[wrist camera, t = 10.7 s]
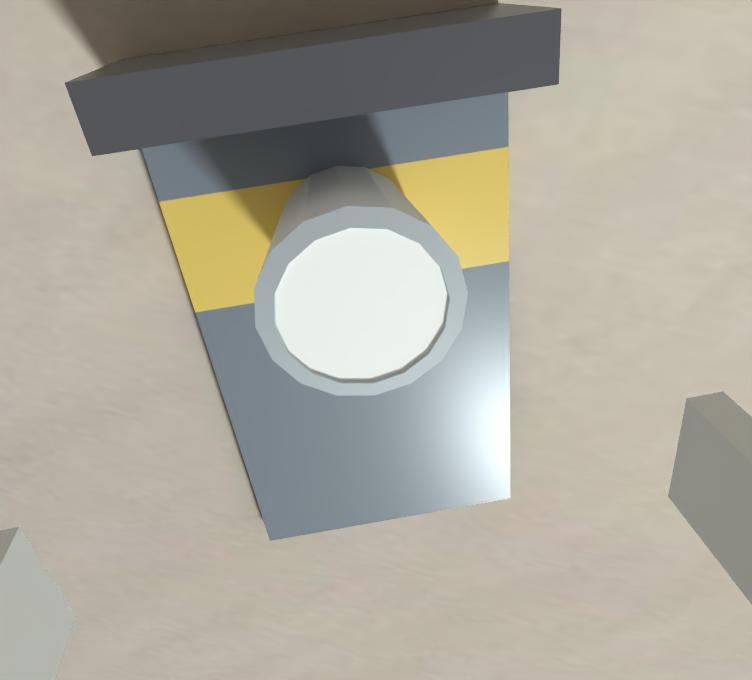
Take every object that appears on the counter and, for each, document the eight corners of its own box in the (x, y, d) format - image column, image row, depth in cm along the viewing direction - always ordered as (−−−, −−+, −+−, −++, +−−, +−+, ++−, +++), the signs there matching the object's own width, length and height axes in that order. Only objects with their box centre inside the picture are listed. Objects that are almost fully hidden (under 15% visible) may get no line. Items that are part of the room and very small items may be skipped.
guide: (270, 526, 34) (266, 621, 29) (120, 59, 21) (64, 82, 16) (505, 485, 35) (540, 571, 30) (499, 3, 22) (561, 8, 17)
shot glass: (250, 289, 25) (235, 381, 19) (281, 128, 22) (275, 180, 16) (400, 318, 27) (429, 412, 21) (450, 173, 24) (501, 235, 18)
